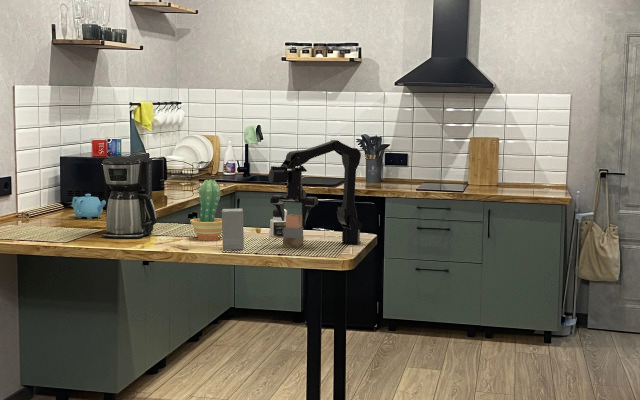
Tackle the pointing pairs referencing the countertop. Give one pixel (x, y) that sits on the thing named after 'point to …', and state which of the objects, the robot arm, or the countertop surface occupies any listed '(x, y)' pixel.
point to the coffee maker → (128, 197)
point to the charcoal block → (293, 232)
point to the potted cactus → (208, 212)
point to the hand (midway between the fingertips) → (293, 221)
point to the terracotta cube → (293, 221)
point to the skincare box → (232, 229)
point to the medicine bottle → (277, 224)
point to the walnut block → (293, 242)
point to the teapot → (87, 206)
